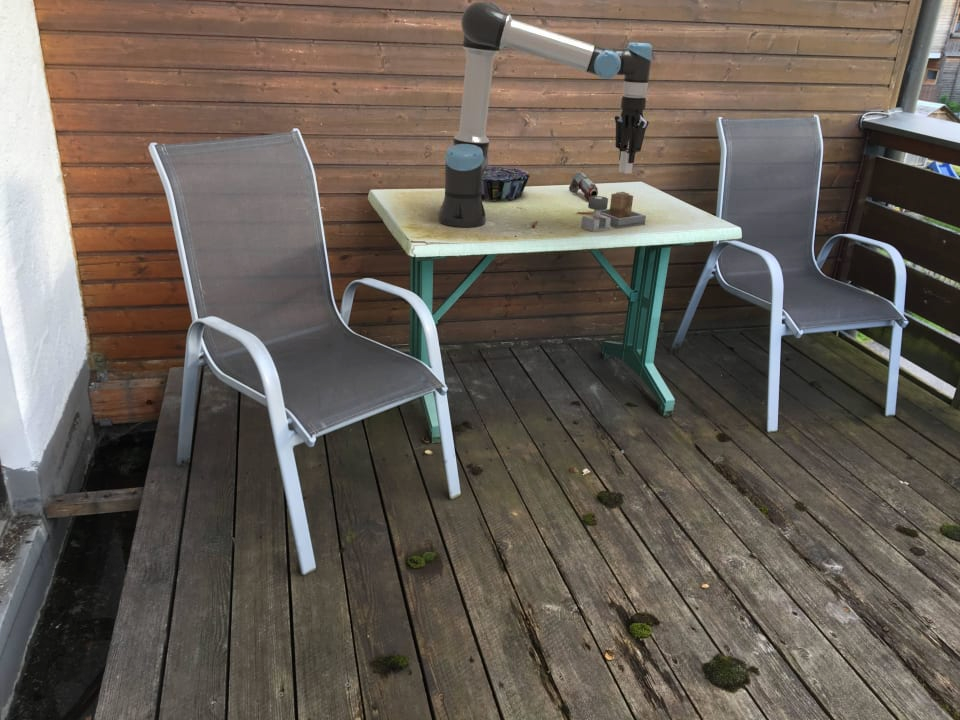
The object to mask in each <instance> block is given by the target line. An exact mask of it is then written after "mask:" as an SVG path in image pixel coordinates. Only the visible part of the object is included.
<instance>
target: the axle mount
mask: <svg viewBox="0 0 960 720" xmlns="http://www.w3.org/2000/svg"><path fill="white" fill-rule="evenodd" d="M610 221H611V218H609V217H606V216H604V215H601V214H600V217H599V218H595V217H593V216H590V215H588V214H587V215H582V216H581V226H580V227H581V229H583V230H586V229H587V231H589V230H590V232H592V233H596V232H595V231H597V232H603V231H602V230H604V231H609V230H611V226H610Z"/></svg>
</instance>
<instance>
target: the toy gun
mask: <svg viewBox="0 0 960 720" xmlns="http://www.w3.org/2000/svg"><path fill="white" fill-rule="evenodd" d="M568 189H569V191H570V192H572V193H578V192H579V190H580V191H581V192H582V194H583V195H584V198H585V199H586V200H587V201H588V202H589V197H591V196H598V195H599V191H598V190H599V189H598V186H597V185H596V184H595V183H594V182H593V181H592V180H591V179H589V178H588V176H587V175H586V174H585V173H584V172H580V171H577V173H575V175H573V178H572V180H571V182H570V185H569V186H568Z"/></svg>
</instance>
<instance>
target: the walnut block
mask: <svg viewBox="0 0 960 720" xmlns="http://www.w3.org/2000/svg"><path fill="white" fill-rule="evenodd" d="M633 201H634V195H631V194H630V193H628V192H625V191H619V192H618V191H617V192H615V193H611V198H610V203H609V204H610V205H609V209H610V212H609V215H611V216H614V217H617V218H625V217H631V211H633Z"/></svg>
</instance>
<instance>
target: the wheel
mask: <svg viewBox="0 0 960 720" xmlns="http://www.w3.org/2000/svg"><path fill="white" fill-rule="evenodd" d="M608 202H609V198H607V197H605V196H600V195H599V196H598V195H597V196H591V197H589V201H588V204H587V205H588V206H587V207H588V209H591V210H593V216H592V217H595V218H599V217H600V210H606V209H608V204H609V203H608Z"/></svg>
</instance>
